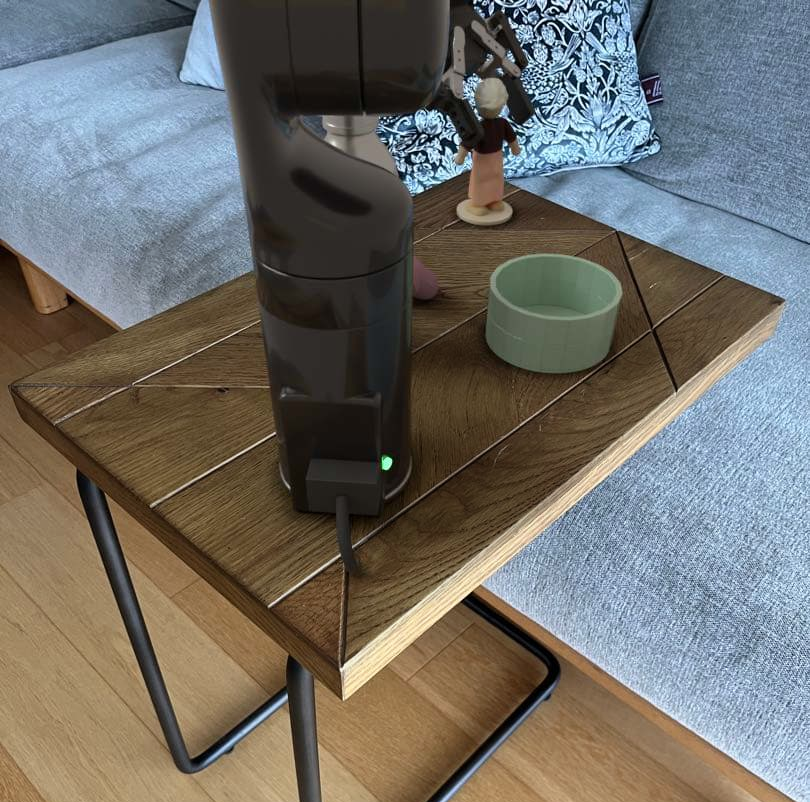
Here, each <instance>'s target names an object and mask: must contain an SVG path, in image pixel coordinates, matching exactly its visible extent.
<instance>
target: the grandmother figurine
mask: <svg viewBox="0 0 810 802" xmlns="http://www.w3.org/2000/svg"><path fill="white" fill-rule="evenodd" d="M507 99H508V94H507V91H506V87H505V86H504V84H503V83H502V81H501V80H500V79H497V78H486V79H485V80H482V81H481V82H479V83H478V84H477V86H476V88H475V90H474V94H473V100H474V106H475V107H476V109H477V112H478V114H479V115H480V116H481V117H482V119H481V120H479V122H480V124H481V125H482V127H483V129H484V136H483V138H481V139H480V140H479V141H478V142H477V143H476V144H475V145H472V146H470V147H468V146H467V145H466V144H465V142H464V141H463V140H462V139H461V140H460V142H459V147H458V149H457V154H456V155H455V157H454V164H455V165H456V166H459V167H461V166H463V165H464V164H465V160H466V157H468V155H469V153H470V152H472V165H471V172H470V178H469V185H468V195H467V197H468V199H471V201H470V202H469V203H468V204H467V205H466V207H465V210H466V211H468V212H470V213H472V214H474V215H476V216H484V215H487V214H488V210H487V208H486V207H485V205H486V206H487V207H488V208H490V209H491V210H493V211H501V210H504V209H505V207H504V204H503V200H504V189H505V188H504V187H505V170H504V169H505V167H504V153H503V149H504V141H505V142H506V143H507V144H508V147H509V148H510V152H511V155H512V156H515V157H517V156H520V154H521V152H522V148H521V147H520V145H519V139H518V134H517V132H516V131H515V129H514V128H513V127H514V126H513V125H512V124H511V123H510V122H509V120H508V118H506V117H502V116H501V117H500V115H501V114H502V111H503V108H504V107H505V106H506V104H507Z"/></svg>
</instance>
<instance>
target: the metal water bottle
mask: <svg viewBox="0 0 810 802" xmlns="http://www.w3.org/2000/svg"><path fill="white" fill-rule="evenodd" d="M321 120H322V121H321V123H322V128H323V129H324V130H325V131H326V136H325V137H324V138H323V139H324V140H325V141H327V142H329V143H330V144H332V145H334V146H335V147H337V148H339V149H341V150H343V151H345V152H347V153H350V154H352V155H355V156H357V157H360V158H362V159H365V160H367V161H370V162H372V163H375V164H377V165H379V166H381V167H383V168H385V169H387V170H389V171H390V172H392V173H393V174H395V175H396V176H397V177H399V178H400V174H399V171H398V168H397V164H396V160H395V158H394V156H393V155H392V154H391V152H390V151H389V149H388V147H387V145H386V144H385V143H384V142H383V140H382V139H381V138H380V137H379V135H378V134H377V131H376V130H377V129H378V128H379V127H380V116H374V117H367V116H365V112H364V114H363V116H362V117H322V118H321Z"/></svg>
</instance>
